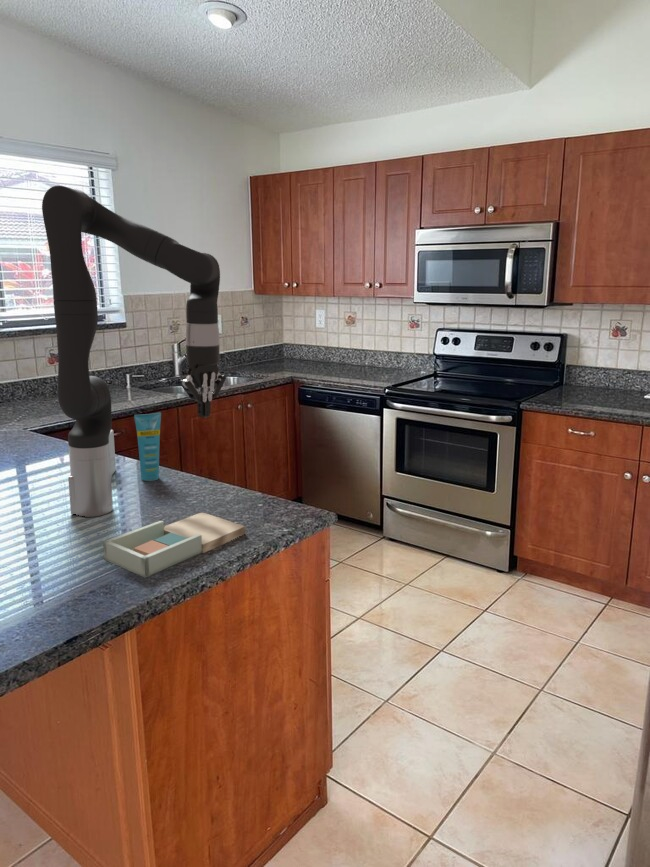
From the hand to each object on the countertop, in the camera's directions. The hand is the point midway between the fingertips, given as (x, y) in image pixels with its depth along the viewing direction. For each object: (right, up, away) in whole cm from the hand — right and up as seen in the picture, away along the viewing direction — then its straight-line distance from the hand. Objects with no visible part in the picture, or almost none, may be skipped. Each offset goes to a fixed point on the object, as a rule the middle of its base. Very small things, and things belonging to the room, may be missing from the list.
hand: (204, 416), depth 151 cm
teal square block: (-5, -28, -13) cm, 32 cm away
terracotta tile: (-8, -29, -17) cm, 35 cm away
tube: (-22, -17, +33) cm, 43 cm away
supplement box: (-37, -16, +36) cm, 54 cm away
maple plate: (+1, -27, -5) cm, 28 cm away
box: (-8, -30, -16) cm, 35 cm away
